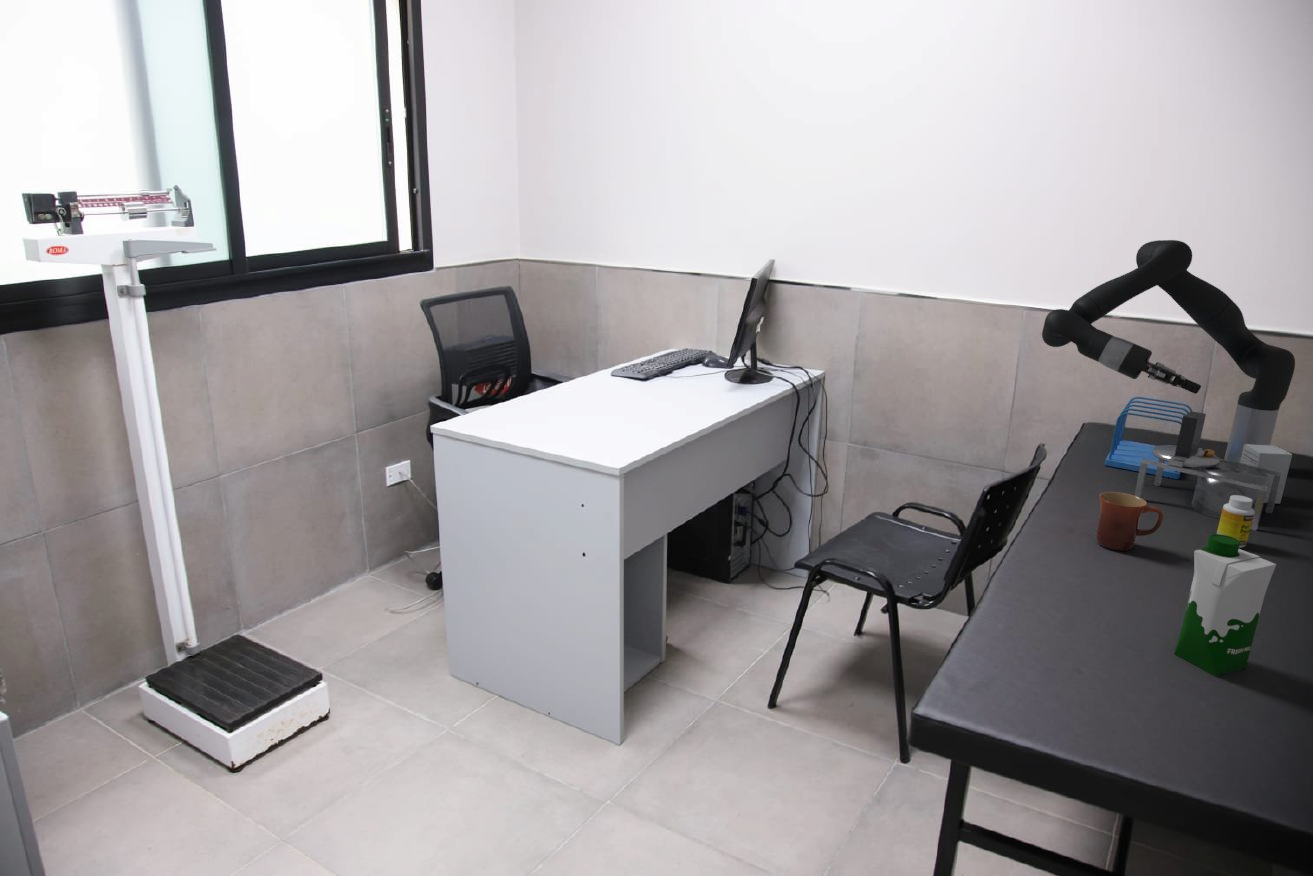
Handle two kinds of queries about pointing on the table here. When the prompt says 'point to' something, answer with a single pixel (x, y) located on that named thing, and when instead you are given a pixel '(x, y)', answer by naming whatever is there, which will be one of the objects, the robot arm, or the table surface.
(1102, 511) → the mug
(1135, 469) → the file sorter
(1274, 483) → the cooker pot
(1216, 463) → the steel lid
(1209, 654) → the milk carton
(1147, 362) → the robot arm
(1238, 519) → the supplement bottle
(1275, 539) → the table surface
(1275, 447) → the supplement box
